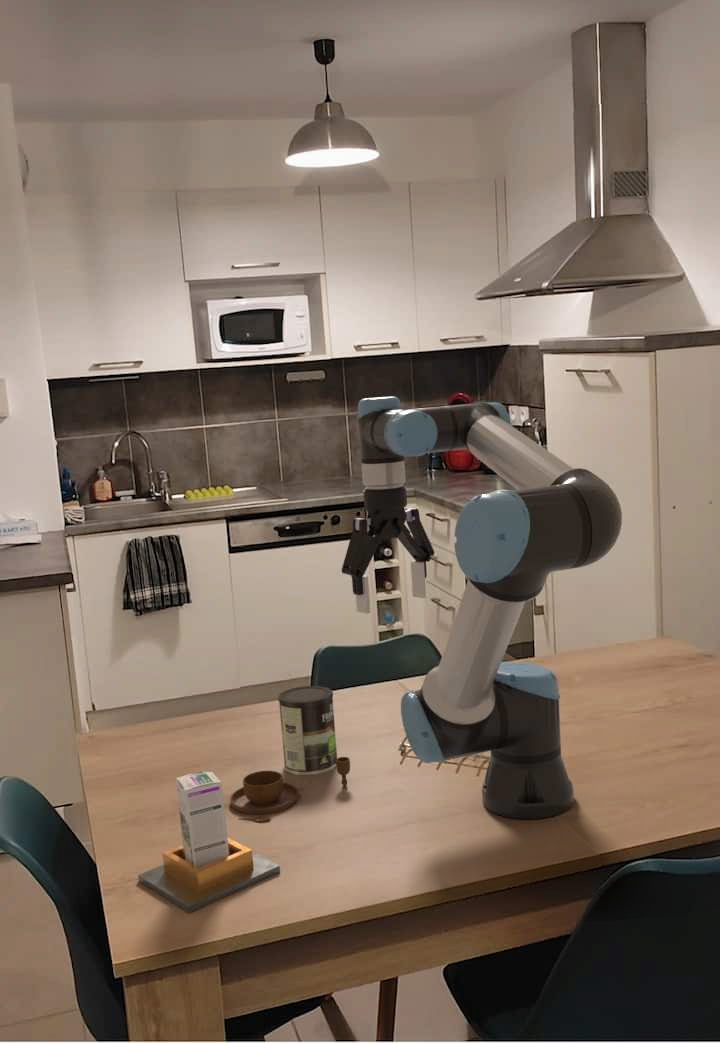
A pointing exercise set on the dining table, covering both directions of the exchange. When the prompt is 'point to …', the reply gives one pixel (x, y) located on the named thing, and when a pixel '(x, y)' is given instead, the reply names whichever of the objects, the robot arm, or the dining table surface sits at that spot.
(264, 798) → the place setting
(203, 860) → the syrup box
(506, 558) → the robot arm
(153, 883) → the wooden box on plate
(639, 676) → the dining table surface
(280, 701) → the coffee can
